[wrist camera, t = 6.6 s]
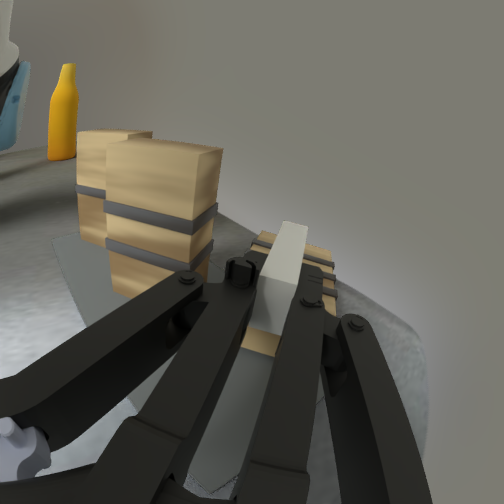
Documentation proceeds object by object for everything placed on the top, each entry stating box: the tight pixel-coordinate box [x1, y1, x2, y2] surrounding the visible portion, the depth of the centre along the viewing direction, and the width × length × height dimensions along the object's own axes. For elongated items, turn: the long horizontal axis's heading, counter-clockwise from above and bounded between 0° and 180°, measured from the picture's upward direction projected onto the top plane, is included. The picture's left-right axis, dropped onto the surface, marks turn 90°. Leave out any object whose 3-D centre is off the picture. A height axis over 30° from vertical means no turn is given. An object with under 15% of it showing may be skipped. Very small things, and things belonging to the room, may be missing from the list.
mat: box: [51, 232, 325, 494], centre depth 23 cm, size 30×14×1 cm, turn 46°
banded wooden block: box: [75, 129, 152, 248], centre depth 26 cm, size 4×7×12 cm, turn 76°
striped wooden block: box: [241, 231, 338, 357], centre depth 22 cm, size 4×7×12 cm
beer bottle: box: [48, 63, 79, 161], centre depth 59 cm, size 9×9×29 cm
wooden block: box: [103, 138, 223, 299], centre depth 20 cm, size 4×7×12 cm, turn 76°
